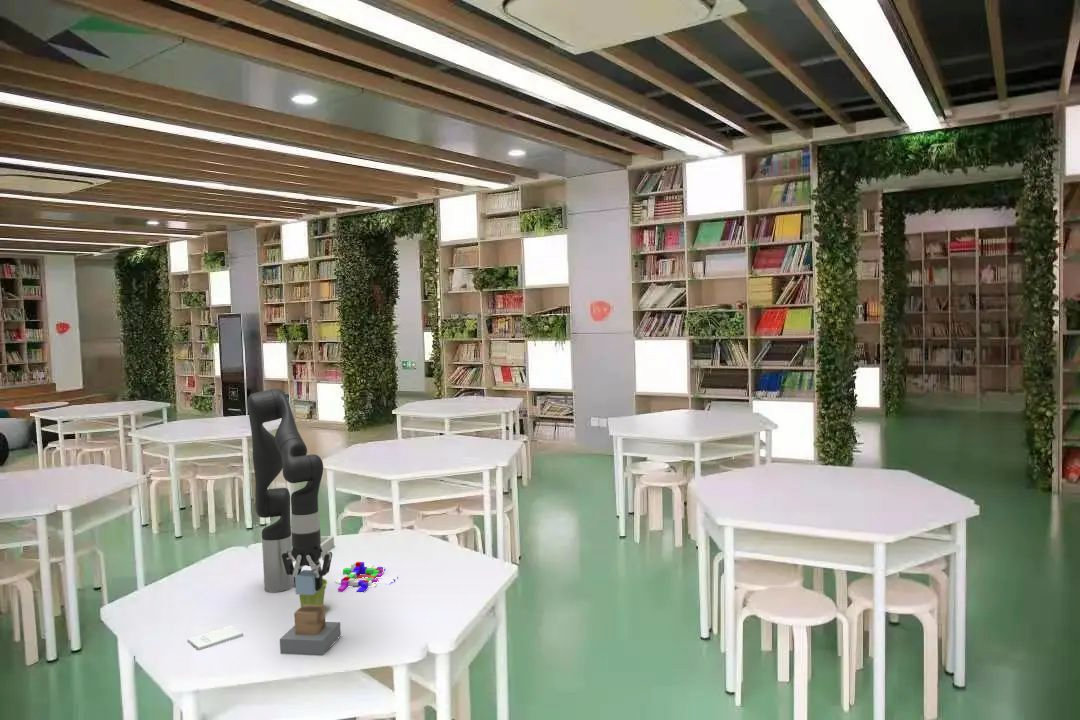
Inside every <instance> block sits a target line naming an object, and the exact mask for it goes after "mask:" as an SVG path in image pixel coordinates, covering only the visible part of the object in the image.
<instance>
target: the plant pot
mask: <svg viewBox="0 0 1080 720" xmlns="http://www.w3.org/2000/svg"><path fill="white" fill-rule="evenodd" d="M327 584H328V579H325V578H323V586H322V588H321V589H320V590H319V591H317V592H316V593H315V594H314V595H300V594H298V597H299V601H300V608H301V607H302V606H303V605H304V604H305V605H324V601H325V593H326V592H325V591H326V587H327Z"/></svg>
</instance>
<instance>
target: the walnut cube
mask: <svg viewBox="0 0 1080 720" xmlns="http://www.w3.org/2000/svg"><path fill="white" fill-rule="evenodd" d="M325 606H326V605H325V604H323V605H305V604H304V605H303V606H302V607H301V606H300V608H299V609H297V610H296V611H295V612H294V613H293V614H294V626H295V635H317V634H318V633H319V632H320V631H321V630H322V629H323V628H324V627H325V626H326V624H325V622H326V608H325Z"/></svg>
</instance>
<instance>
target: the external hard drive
mask: <svg viewBox="0 0 1080 720" xmlns="http://www.w3.org/2000/svg"><path fill="white" fill-rule="evenodd" d="M242 637H244V633H243V631H241V630H240V629H238V628H237V627H236V626H234V625H230V624H229V625H228V626H225V627H221V628H218V629H215V630H212V631H209V632H206V633H203V634H199V635H197V636H194V637H190V638H187V643H188V644H190V645H191V646H193V648H195V649H196V650H197V651H198V650H199V651H202V650H204V649H208V648H211V647H214V646H218V645H221V644H223V643H226V641H227V642H229V640H230V641H233V640H237V639H239V638H242ZM220 643H221V644H220ZM217 644H218V645H217Z"/></svg>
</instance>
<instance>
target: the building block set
mask: <svg viewBox="0 0 1080 720" xmlns="http://www.w3.org/2000/svg"><path fill="white" fill-rule="evenodd" d="M373 566H374V567H373ZM367 567H369V568H367ZM372 567H373V568H372ZM383 568H384V567H383V566H377V567H376V568H375V565H374V564H365V562H364V561H354V562H353V563H352V564H351V565H350V567H344V569H343V570H342V574H343V575H346V576H344V577H343V578H339V579H336V580H335V581H334V583H335V584H337V585H340V586H339V587H338V588H337V592H338V593H343V591H344V590H345V589H346V588H347V587H348V586H354V587H356V586H357V587H358V586H361V587H358V589H356V593H357V592H364V591H365V590H366V589H367V588H368V589H369V587H368V586H376V585H377V586H378V584H376V583H374V584H372V583H373V582H377V581H378V582H379V580H380V579H379V578H376V577H381V576H382V575H384V572H383ZM382 572H383V574H382ZM366 573H367V574H366ZM360 574H366V575H360ZM370 574H372V575H370ZM362 577H364V578H362ZM365 577H368V578H365ZM356 578H357V579H356ZM375 578H376V579H375ZM355 579H356V580H355ZM377 586H376V587H377ZM348 588H349V587H348ZM348 588H347V589H348ZM347 589H346V590H347ZM368 589H367V590H368ZM346 590H345V591H346ZM367 590H366V591H367ZM345 591H344V592H345ZM366 591H365V592H366ZM365 592H364V593H365Z"/></svg>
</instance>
